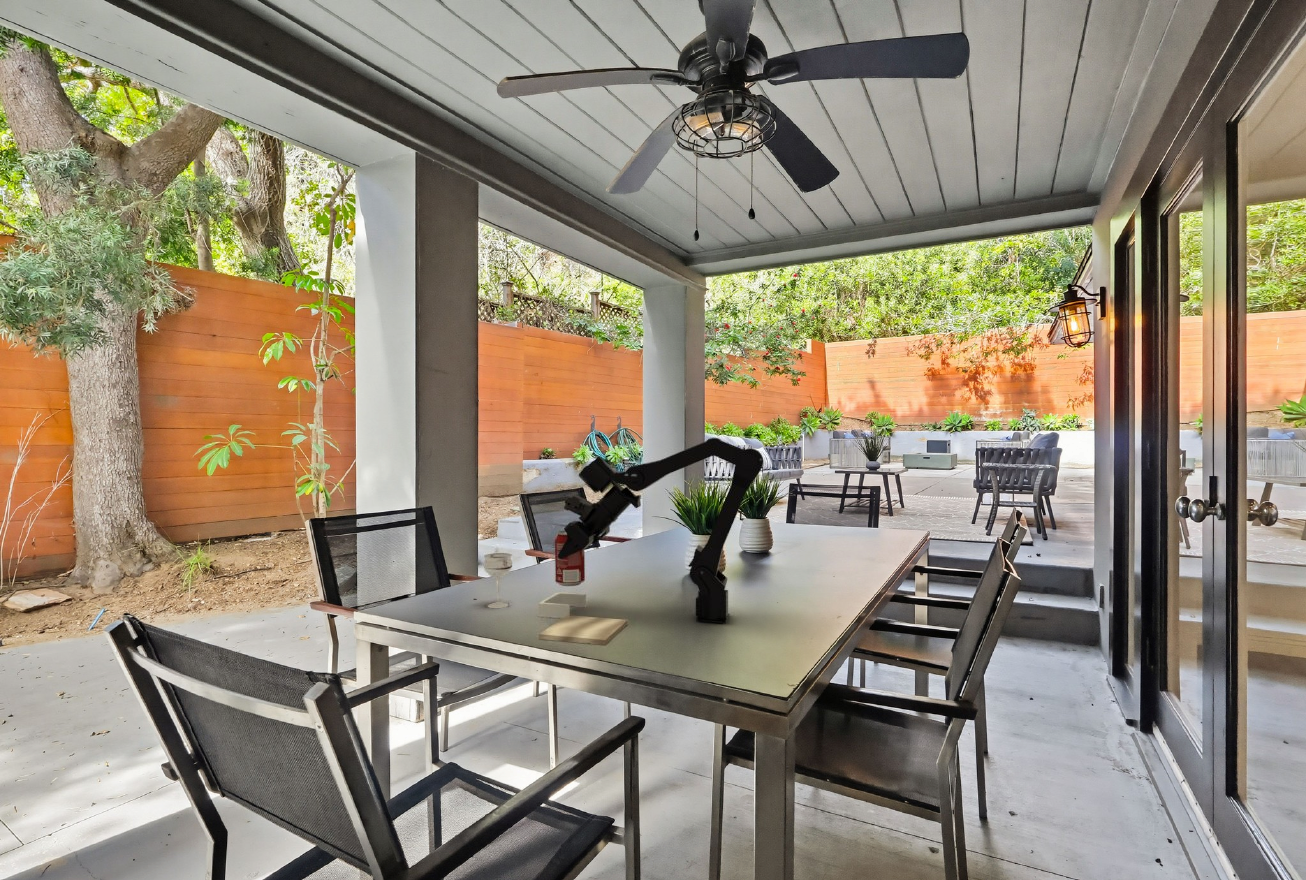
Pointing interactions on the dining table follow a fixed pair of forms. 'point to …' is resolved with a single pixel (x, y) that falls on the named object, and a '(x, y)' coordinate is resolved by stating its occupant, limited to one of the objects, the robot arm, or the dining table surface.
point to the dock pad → (584, 630)
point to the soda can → (568, 564)
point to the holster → (560, 604)
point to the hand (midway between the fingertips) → (564, 555)
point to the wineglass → (497, 571)
